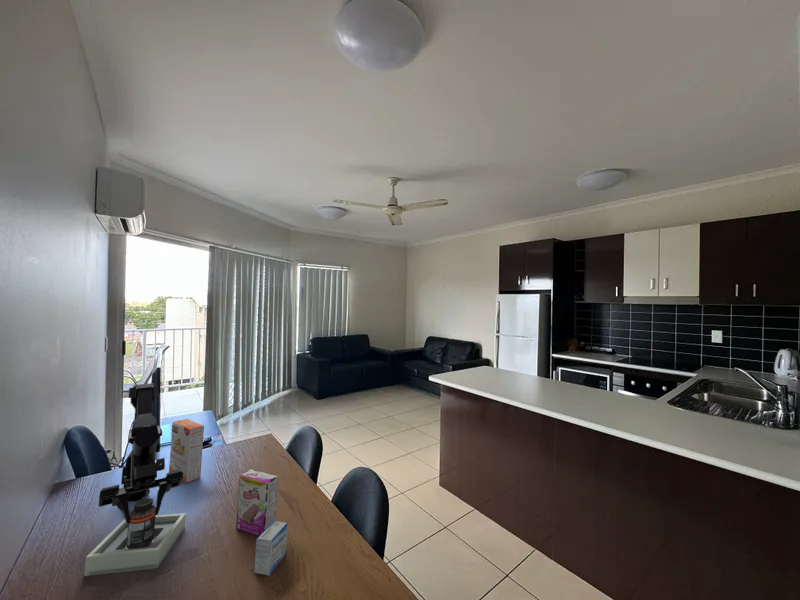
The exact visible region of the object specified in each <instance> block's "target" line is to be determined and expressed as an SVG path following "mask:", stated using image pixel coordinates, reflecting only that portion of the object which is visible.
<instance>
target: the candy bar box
mask: <svg viewBox="0 0 800 600" xmlns="http://www.w3.org/2000/svg"><path fill="white" fill-rule="evenodd" d="M278 482H279V476H278V475H275V474H271V473H266V472H264V471H259V470H255V469H252V468H251V469H249V470H246V471H245V472H243V473H240V475H239V480H238V492H237V493H238V494H237V495H238V497H237V508H236V509H237V510H236V522H235V523H236V524H235V530H237V531H242V532H244V533H247V534H250V535H253V536H256V537H259V536H260V535H261V534H262V533H263V532H264V531H265V530H266V529H267V528H268V527H269V526H270V525H271V524H272V523H273V522H274V521H276V517H277V516H276V515H277V514H276V513H277V499H278V487H279V486H278Z"/></svg>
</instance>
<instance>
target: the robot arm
mask: <svg viewBox="0 0 800 600" xmlns="http://www.w3.org/2000/svg"><path fill="white" fill-rule="evenodd" d="M154 384H155V383H152V382H151V383H144V384H141V383H140V384H133V385H132V386H133V387H129V388H128V399H130V405H131V406H132V407H133V409H134V420H133V421H132V424H131V429H129V430H128V438H127V441H128V442H127V443H128V444H130V445H132V447H131V448H132V449H131V452H130V454H129V455H128V456H127V458H126V459H125V465H122V470H121V478H120V479H121V480H120V481H121V486H123V487H121V488H120V484H116V485H111V486H108V487H107V486H106V487H103V488H102V489H101V490H100V491H99V496H98V507H105V506H109V505H111V506H112V507H117V508H118V510H119V511H120V512H121V514H122V517H123V518H124V519H125V521H126V523H127V524H129V520H130V508H129V502H137V501H138V500H141V499H144V498H146V496H147V495H148V494H149V493H150V492H151V490H150V489H155V488H158V491H157V496H156V503H155V507H156V515H159V512H160V510H161V509H160V508H161V505H162V502H163V499H164V497H165V495H166V493H168V492H170V490H171V489H173V488H177V487H179V486H181V485H182V482H183V481H182V480H183V472H182V471H181V470H178V471H174V472H169V471H168V472H167V473H166V476H165V477H163V478H158V472H159V471H164V470H165V467H166V464H165V463H166V462H165V461H166V460H165V457H162V458H157V459H156V449H157V445H158V442H159V439H160V438H161V437H163V430H162V428H161V426H160V425H158V421H157V420H158V419H157V418H156V417H155V416H153V402H154V400H155V399H156V398H155V397H156V396H158V394H159V393H158V389H159V386H158V385H154Z"/></svg>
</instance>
